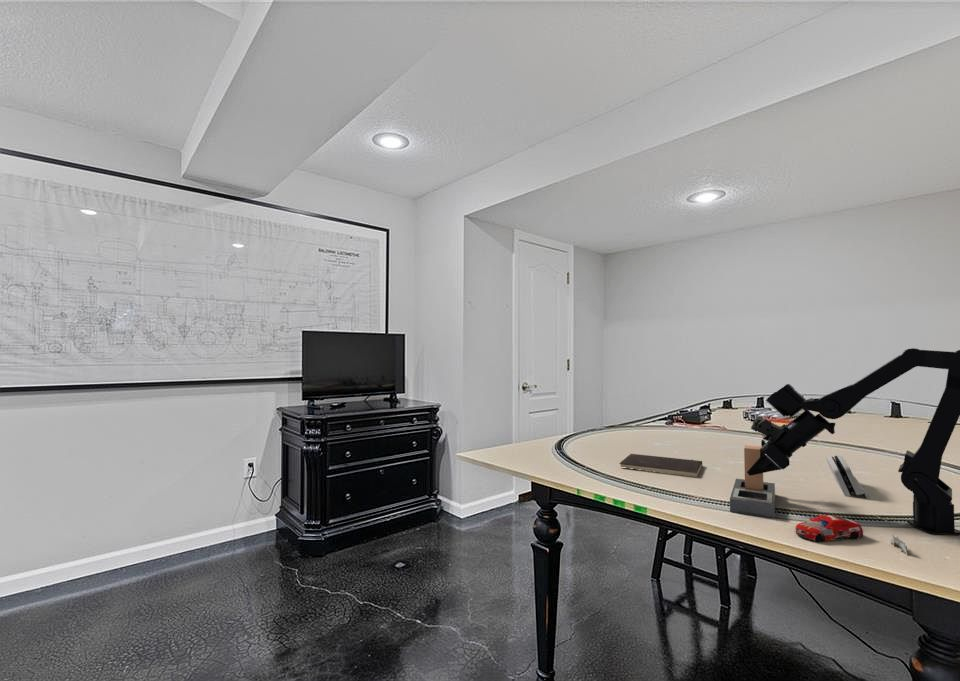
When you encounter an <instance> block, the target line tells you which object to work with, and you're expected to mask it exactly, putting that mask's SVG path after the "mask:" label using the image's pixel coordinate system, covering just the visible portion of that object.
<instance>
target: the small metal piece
mask: <svg viewBox="0 0 960 681" xmlns="http://www.w3.org/2000/svg"><path fill="white" fill-rule="evenodd" d="M891 536H892V538H891V539H890V541H889V542H890V544H891V545H893V547H895V548H899V549H901V552H902V553H904V555H906V556H908V555H909V556H911V553H910V552H909V550H908V546H906V543H905V542H904V541H902V540H901V539H899V537H898V536H895V535H894V534H892V535H891Z"/></svg>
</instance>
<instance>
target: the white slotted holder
mask: <svg viewBox="0 0 960 681" xmlns="http://www.w3.org/2000/svg"><path fill="white" fill-rule="evenodd" d="M825 459H826V462H827V464H828V466H829V468H830V471H831V473H832V475H833V477H834V481H835V482H836V483H837V485H838V487H839V489H840V490H841V492H842V493H843V496H844V497H847V498H849V497H851V495H853V494H854V495H856V496H860V495H864V496H865V498H866V499H867V500H870V496H869V494H868V492H867V491H866V489H865V488H864V487H863V486H862V485H861V483H860V482H859V480H858V479H857V478H856V476H854V474H853V472H852V470H851V468H850V466H849V464H848V463H847V461H846V459H845V457H844V456H843V455H842V454H835V455H834V456H831V455H830V456H827V457H826V458H825Z"/></svg>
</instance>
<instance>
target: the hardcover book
mask: <svg viewBox="0 0 960 681" xmlns="http://www.w3.org/2000/svg"><path fill="white" fill-rule="evenodd" d="M619 465H620V468H621V467H626V468H633V469H641V470H647V471H646V472H648V471H655V472H654V473H656V472H662V473H661V474H664V473H670V474H669V475H672V474H678V475H677V476H681V475H685V476H684V477H689V476H692V477H691V478H697V476H698V475H699V472H700V470H701V468H702V467H703V460H698V459H697V460H695V459H687V458H685V459H683V458H675V457H666V456H665V457H664V456H659V455H658V456H657V455H650V454H649V455H647V454H640V453H639V454H638V453H637V454H636V453H630V454H629V455H627V456H626V457H625V458H624V459H622V460H621V462H619Z"/></svg>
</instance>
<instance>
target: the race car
mask: <svg viewBox="0 0 960 681" xmlns="http://www.w3.org/2000/svg"><path fill="white" fill-rule="evenodd" d="M795 534H796V535H797V536H799V537H801V538H804V539H806V540H810V541H814V542H816V543H823V542H824V541H825V542H828V541H830V542H832V541H843V540H851V541H853V540H858V539H861V538H863V536H864V530H863V527H862V524H860V523H859V522H857V521H854V520H852V519H849V518H843V517H840V516H838V515H829V514H827V515H826V514H825V515H819V516H815V517H813V518H809V520H808V521H804V522H799V523H797V524H796V525H795Z"/></svg>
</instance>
